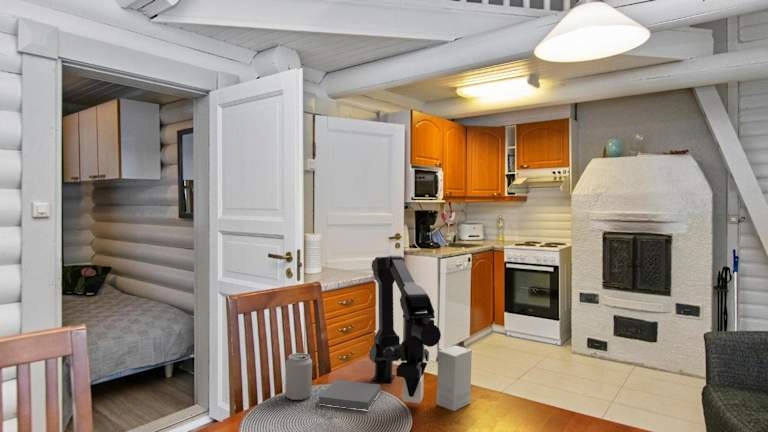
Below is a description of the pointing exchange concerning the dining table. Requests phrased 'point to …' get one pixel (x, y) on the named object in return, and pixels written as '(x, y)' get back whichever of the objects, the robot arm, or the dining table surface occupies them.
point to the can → (298, 376)
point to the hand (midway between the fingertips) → (412, 393)
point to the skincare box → (454, 377)
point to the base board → (350, 394)
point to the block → (417, 395)
